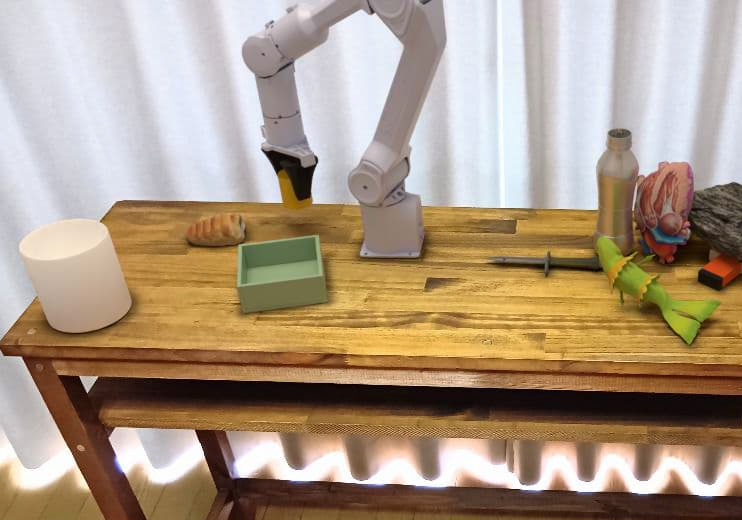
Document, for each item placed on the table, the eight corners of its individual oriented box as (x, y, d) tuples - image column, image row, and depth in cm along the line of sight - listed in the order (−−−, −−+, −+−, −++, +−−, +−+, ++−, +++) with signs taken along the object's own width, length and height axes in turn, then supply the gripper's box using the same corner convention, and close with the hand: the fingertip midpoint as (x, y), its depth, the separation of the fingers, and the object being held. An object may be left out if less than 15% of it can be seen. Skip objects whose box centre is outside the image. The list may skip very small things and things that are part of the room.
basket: (323, 260, 143) (318, 234, 140) (327, 302, 133) (323, 275, 130) (244, 270, 141) (238, 244, 138) (243, 313, 131) (236, 286, 129)
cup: (36, 309, 133) (6, 237, 126) (112, 280, 139) (88, 210, 132) (65, 343, 126) (35, 269, 119) (145, 311, 132) (121, 239, 125)
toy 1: (582, 244, 128) (574, 290, 133) (700, 305, 119) (687, 351, 124) (615, 226, 133) (606, 270, 138) (730, 283, 124) (717, 328, 129)
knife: (485, 257, 143) (480, 274, 139) (484, 245, 141) (479, 262, 137) (604, 262, 140) (602, 279, 136) (604, 250, 139) (603, 268, 135)
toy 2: (728, 300, 133) (784, 254, 140) (731, 279, 130) (787, 233, 138) (686, 281, 137) (743, 237, 144) (688, 261, 135) (745, 217, 142)
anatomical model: (646, 165, 142) (632, 261, 144) (627, 158, 138) (613, 257, 139) (708, 167, 135) (692, 267, 137) (690, 160, 131) (674, 263, 133)
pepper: (315, 195, 149) (309, 157, 144) (309, 210, 145) (302, 170, 141) (287, 195, 149) (279, 157, 145) (279, 209, 145) (272, 170, 141)
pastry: (186, 252, 145) (180, 231, 143) (188, 232, 150) (182, 211, 148) (246, 244, 147) (241, 223, 144) (246, 224, 152) (241, 204, 150)
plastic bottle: (639, 247, 143) (648, 127, 131) (625, 268, 139) (633, 146, 126) (600, 240, 145) (606, 120, 133) (585, 260, 141) (590, 139, 128)
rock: (736, 200, 145) (733, 167, 141) (801, 239, 134) (800, 204, 130) (674, 232, 143) (669, 198, 139) (735, 274, 131) (732, 239, 127)
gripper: (236, 103, 140) (254, 183, 148) (278, 133, 131) (294, 217, 139) (278, 92, 143) (293, 171, 152) (321, 120, 134) (334, 203, 143)
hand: (296, 192), depth 146 cm, fingers closed on pepper, 5 cm apart
